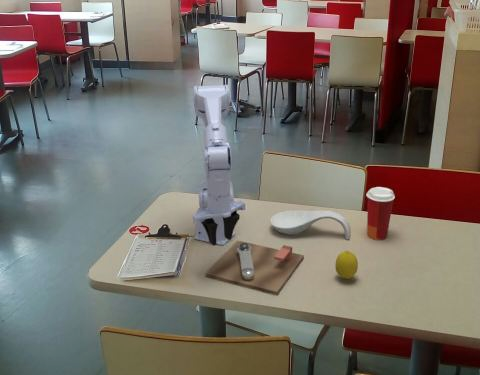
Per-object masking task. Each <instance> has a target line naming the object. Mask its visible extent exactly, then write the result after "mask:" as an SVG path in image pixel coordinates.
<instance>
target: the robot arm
mask: <svg viewBox="0 0 480 375" xmlns="http://www.w3.org/2000/svg"><path fill="white" fill-rule="evenodd" d="M192 91H193V92H192V93H193V106H194V113H195V116H196V117H198V118H199V119H202V121H203V123H204V128H203V140H204V141H203V142H204V150H203V163H204V166H203V167H204V170H205V178H204V179H202V180H201V181H200V182H199V183H198V206H199V208H197V210H196V213H195V214H192V223H193V224H195V237H194V239H195V240H198V241H202V242H206V243H210V244H211V245H212V246H216V245H219V246H224V245H226V244H227V242H228V241H231V240H232V238H233V236H235V234H236V232H235V227H236V225H237V223H238V221H239V220H240V217H241V216H240V213H238V211H245V210H246V202H244V201H243V200H238V201H235V198H234V196H235V195H234V187H233V183H232V180H231V169H232V165H233V162H232V161H233V159H232V158H233V157H232V149H231V146H230V142H229V140H228V133H227V127H226V126H225V125H223V124H222V118H224V117H227V116H228V114H229V112H230V106H231V94H230V92H231V90H230V86H229V85H228V84H220V85H219V84H216V85H194V86H193V88H192Z"/></svg>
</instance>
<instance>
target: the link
mask: <svg viewBox="0 0 480 375" xmlns="http://www.w3.org/2000/svg"><path fill="white" fill-rule="evenodd" d="M247 243H248V242H246V243H242V244H240V245H238V246H237V255H239V258H240V265H241V272H242V278H243V279H244V280H252V279H254V268H253V262H252V257H251V254H252V247H251V245H249V244H247Z"/></svg>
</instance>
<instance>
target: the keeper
mask: <svg viewBox="0 0 480 375" xmlns="http://www.w3.org/2000/svg"><path fill="white" fill-rule="evenodd" d="M278 250H279V251H278V253H277V254H276V255H275V256H274V259H276V260H280V261H284V259H286V260H291V258H292V253H293V246H289V245H285V244H283V245H282V247H281V248H279V249H278Z"/></svg>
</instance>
